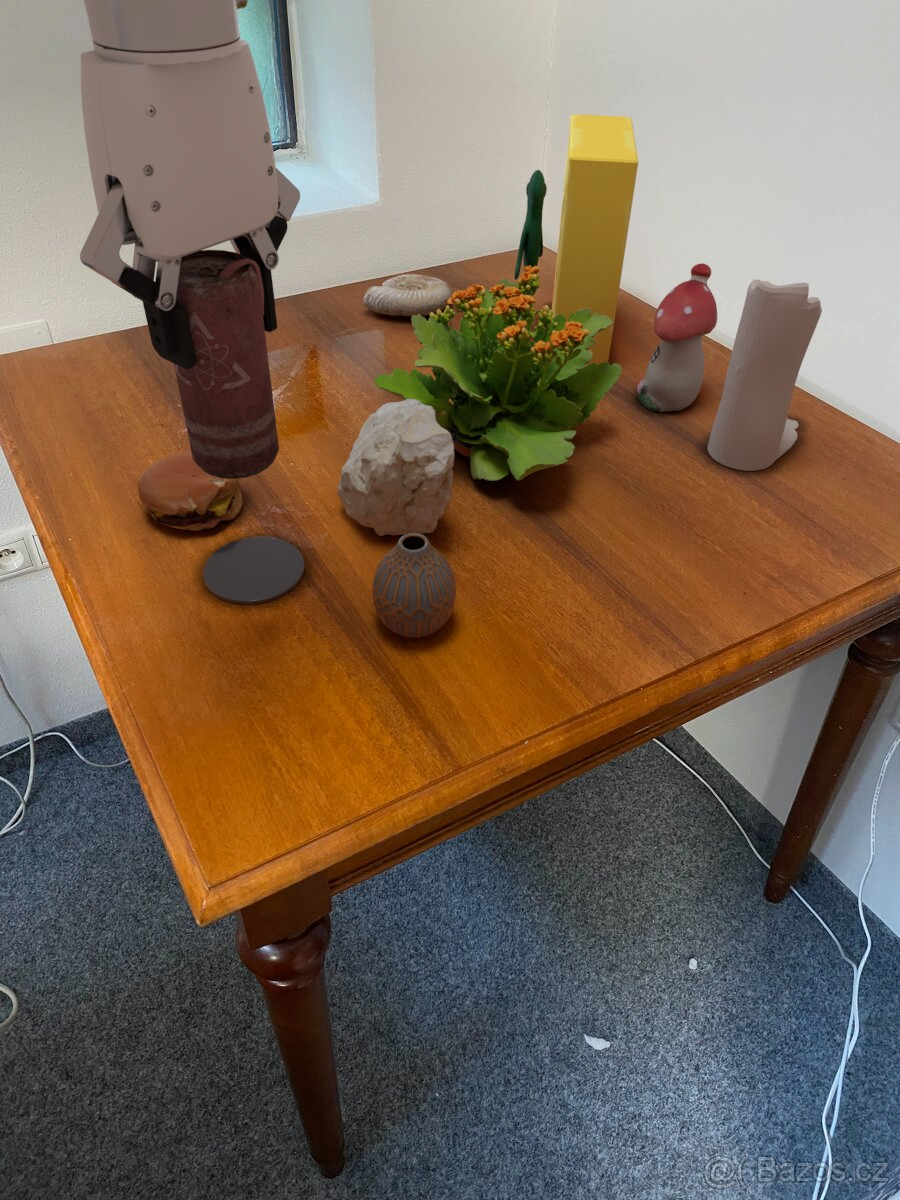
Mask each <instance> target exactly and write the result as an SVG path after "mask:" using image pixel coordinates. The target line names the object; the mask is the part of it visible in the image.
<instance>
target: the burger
mask: <svg viewBox="0 0 900 1200" xmlns="http://www.w3.org/2000/svg"><path fill="white" fill-rule="evenodd" d="M137 492H138V497H139V499H140V501H141V503H142V504H143V506H144V507H145V508H146V509H147V511H148V513H149V514H150V516H151V518H153V520H154V521H155V522H156V523H157V524H160V525H164V526H167V527H171V528H173V529H177V530H189V531H193V532H195V531H196V532H198V531H201V530H203V529H212V528H215V527H216V526H217V525H218V524H219V523H221V521H231V520H234V519H235V518H236V517H237V516H238V515H239V513H241V510H242V507H243V504H244V502H243V495H242V492H241V489H240V487H239V478H238V479H224V478H219V477H215V476H211V475H210V474H208V473H206V472H204V471H203V470H202V469H201V468H200V467H199V466H198V465H197V464H196V463H195V462H194V460H193V457H192V452H191V451H183V452H179V453H178V452H177V453H174V454H170V455H168V456H166V457H163V458H161V459H159V460H157V461H155V462H154V463H152V464H151V465H150V466H149V467H147V468H146V469H145V471H144V472H143V474H142V475H141V476H140V478H139V481H138V484H137Z"/></svg>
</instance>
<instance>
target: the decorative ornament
mask: <svg viewBox="0 0 900 1200" xmlns="http://www.w3.org/2000/svg"><path fill="white" fill-rule="evenodd" d="M711 275H712V268H711V267H710V265H708V264H706V263H703V262H701V263H696V264H695V265H693V266H692V267H691V270H690V278H689V280H686V281H683V282H680V283H678V285H676V286H674V287H673V288H672V289H671V290H670V291H669V292H668V293H667V294H666V295H665V296H664V298H663V299H662V301H660V303H659V305H658V307H657V308H656V311H655V314H654V319H653V330H654V333H655V335H656V337H658V338H659V339H660V340H661V341H660V342H659V344H658V345H657V346H656V348H655V349H654V350H653V353H652V354H651V357H650V360H649V362H648V364H647V368H646V372H645V376H644V378H642V379H641V380H640V381H639V382H638V384H637V388H636V395H637V399H638V401H639V403H640V404H641V405H642V406H643V407H645V408H646V409H648V410H650V411H655V412H659V413H661V412H663V413H664V412H674V411H675V412H676V411H682V410H684V409H685V408H687V407H689V406H690V405H691V404H692V403H693V402H695V400H696V398H697V397H698V395H699V393H700V390H701V387H702V385H703V381H704V377H705V367H706V366H705V354H704V353H705V352H704V347H703V342H702V337H703V336H705V335H708V334H710V333H712V332H713V330H714V329H715V328H716V326H717V323H718V319H719V318H718V317H719V316H718V308H717V302H716V298H715V297H714V294H713V292H712V291H711V289H710V288H709V286H708V280H709V279H710V278H711Z"/></svg>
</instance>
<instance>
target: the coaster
mask: <svg viewBox="0 0 900 1200" xmlns="http://www.w3.org/2000/svg"><path fill="white" fill-rule="evenodd" d="M305 567H306V565H305V559H304V556H303V554H302V553H301V552H300V550H299V549H298V548H297V547H296V546H295V545H293V544H292V543H290V542H288V541H285V540H283V539H281V538H278V537H277V538H276V537H270V536H249V537H244V538H241V539H236V540H234V541H230V542H229V543H227V544H224V545H223V546H221V547H220V548H218V549H217V550H215V552H213V553H212V554H211V555H210V556H209V557H208V558H207V560H206V562H205V564H204V566H203V571H202V577H203V582H204V585H205V587H206V588H207V590H208V591H209V592H210V593H211V594H212V595H213V596H215V597H216V598H218V599H220V600H222V601H224V602H228V603H232V604H236V605H257V604H258V605H259V604H264V603H269V602H271V601H274V600H277V599H279V598H282V597H283V596H285V595H287V594H288V593H290V592H292V590H294V589H295V588H296V587H297V586H298V585H299V583H300V582H301V580H302V578H303V577H304V573H305Z"/></svg>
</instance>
